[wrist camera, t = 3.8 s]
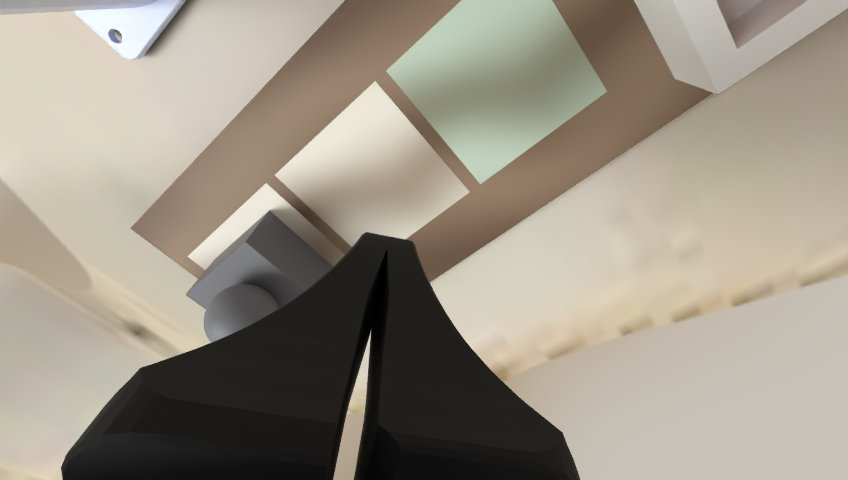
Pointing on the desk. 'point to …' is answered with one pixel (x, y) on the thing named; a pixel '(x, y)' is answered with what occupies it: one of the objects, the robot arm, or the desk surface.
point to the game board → (425, 127)
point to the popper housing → (729, 34)
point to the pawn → (255, 277)
